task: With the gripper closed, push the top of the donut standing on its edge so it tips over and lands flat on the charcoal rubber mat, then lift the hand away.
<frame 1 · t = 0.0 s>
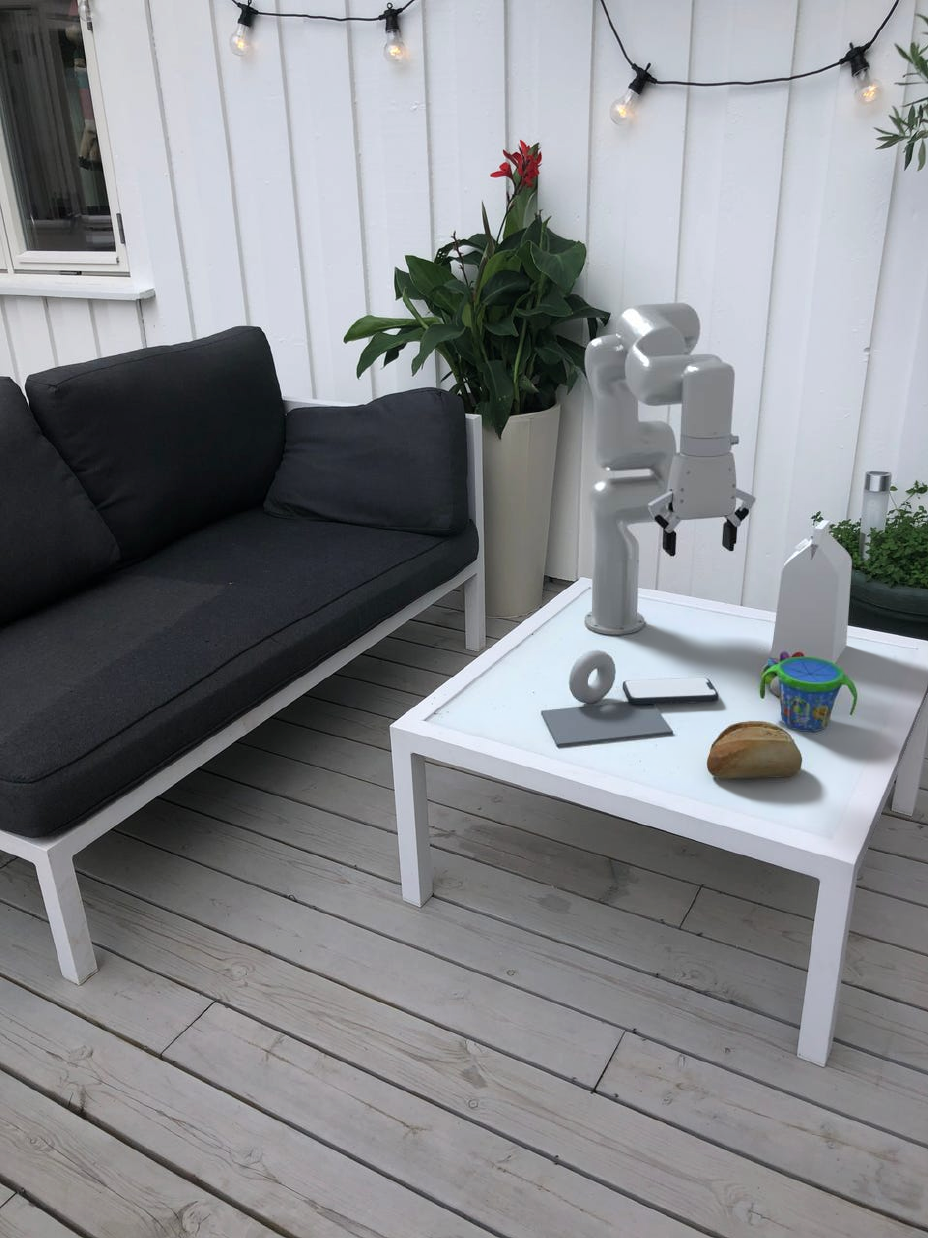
hand: (698, 551, 161), 31 cm above the table, fingers open, 9 cm apart
donut: (592, 703, 181), on the table, touching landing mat
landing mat: (605, 723, 174), on the table
snack cup: (804, 724, 172), on the table
smartphone: (669, 696, 182), on the table, touching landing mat
milk: (808, 652, 198), on the table
multicolored rounded-lobe toy: (787, 689, 184), on the table
bread roll: (752, 773, 158), on the table
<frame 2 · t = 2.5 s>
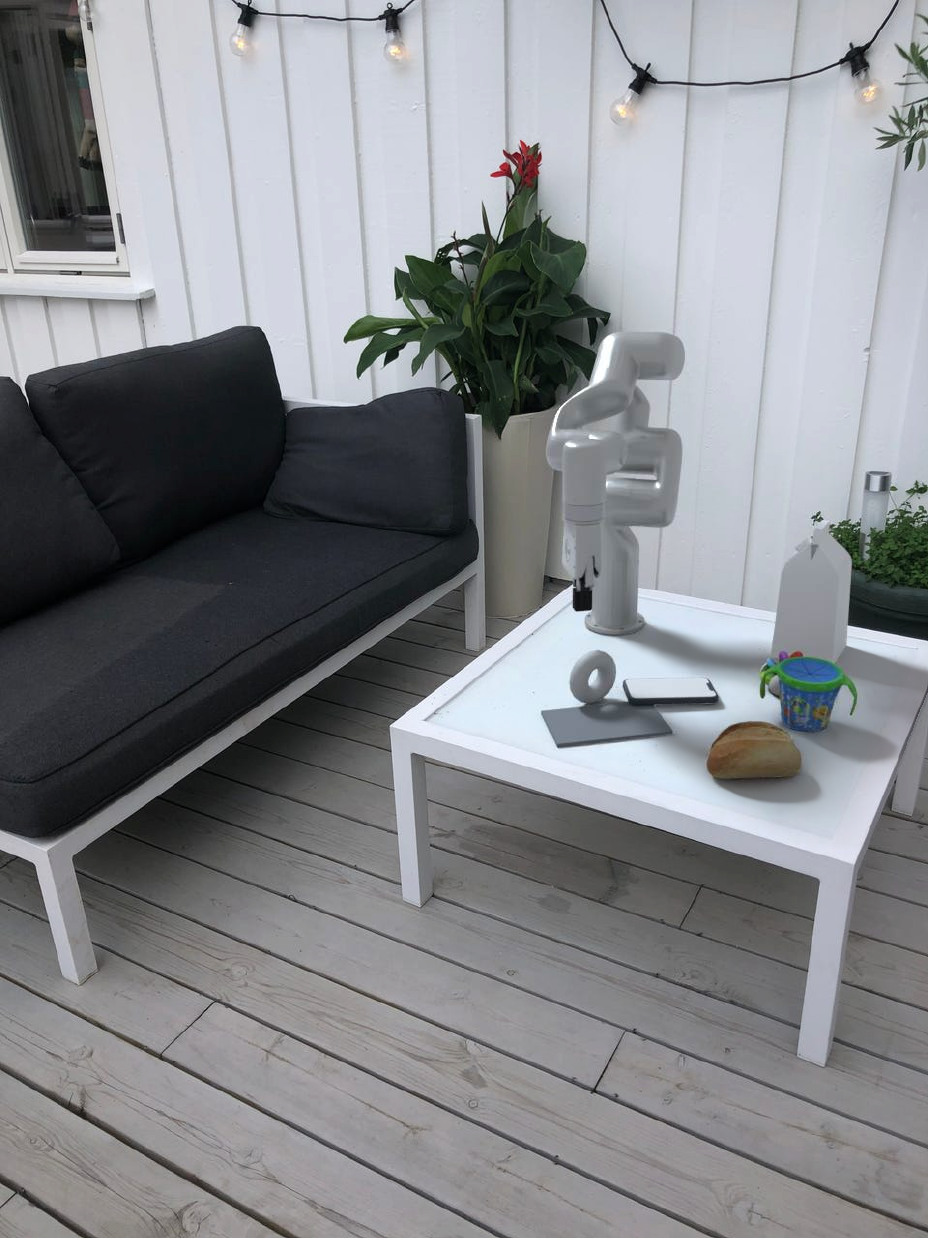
hand: (582, 609, 182), 15 cm above the table, fingers closed
nothing on the table moved.
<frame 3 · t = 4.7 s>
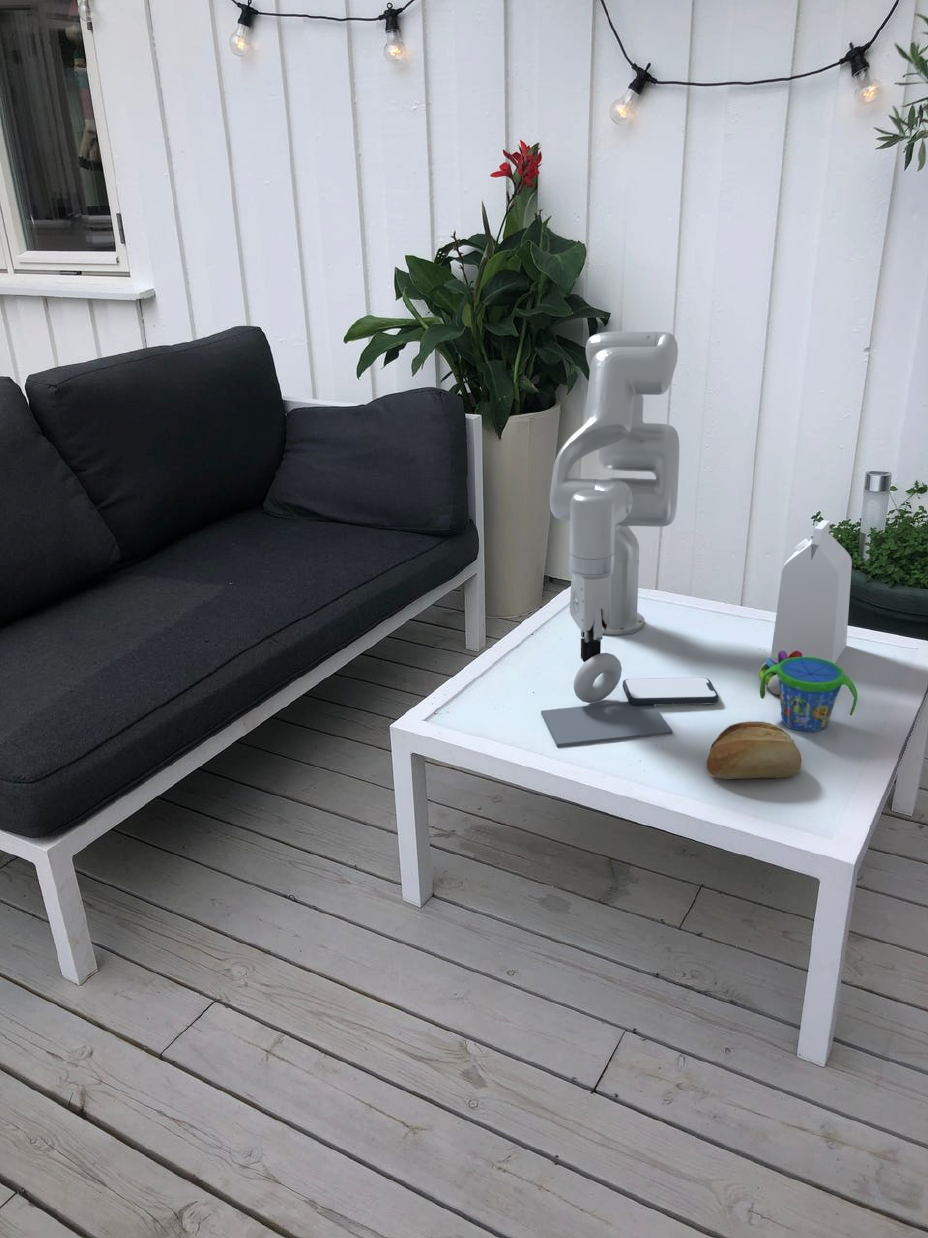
hand: (590, 659, 180), 8 cm above the table, fingers closed
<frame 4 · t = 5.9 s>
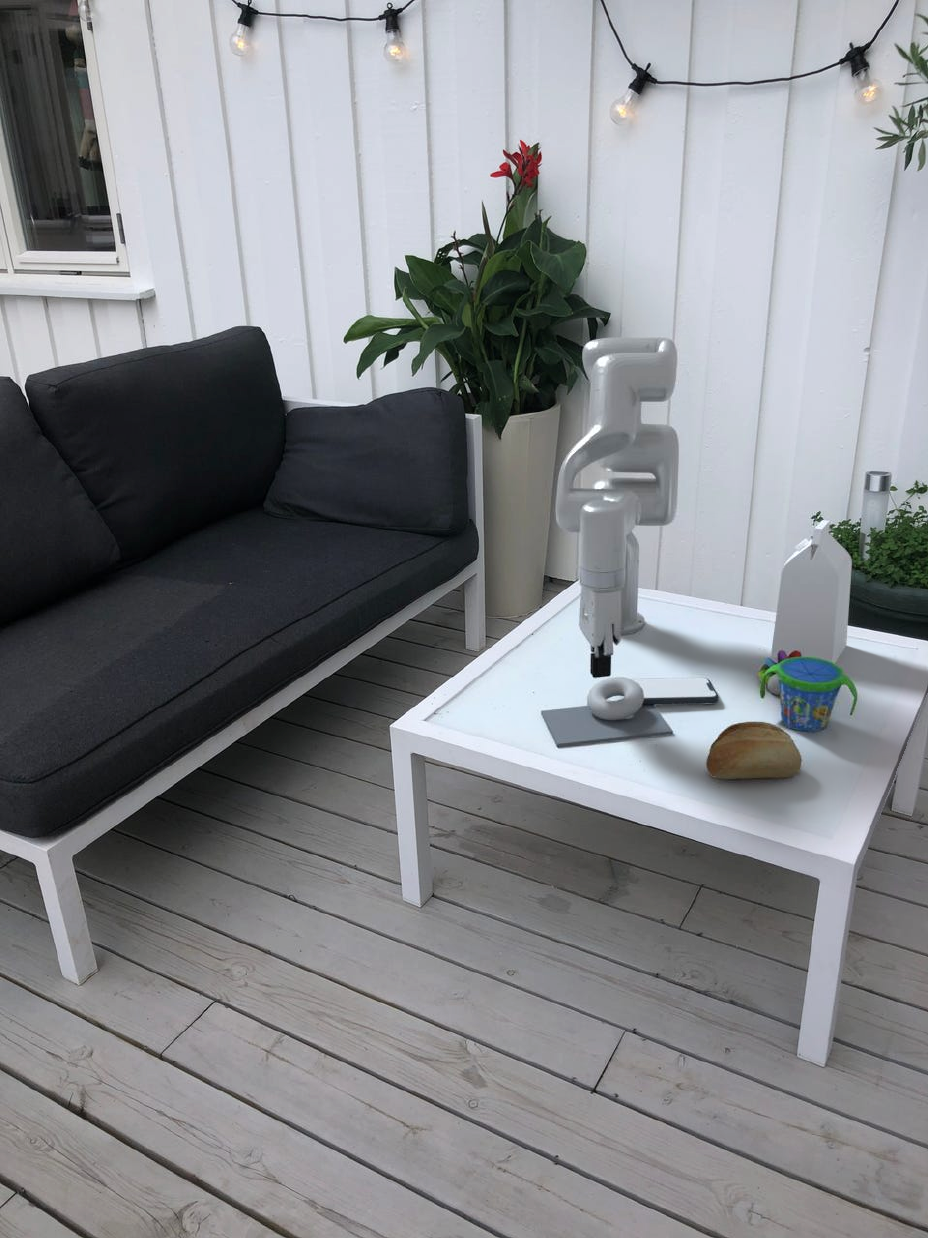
hand: (600, 675, 174), 8 cm above the table, fingers closed
donut: (593, 688, 179), point 3 cm above the table, touching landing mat, smartphone
smartphone: (669, 696, 182), on the table, touching donut, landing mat
everything else where it was.
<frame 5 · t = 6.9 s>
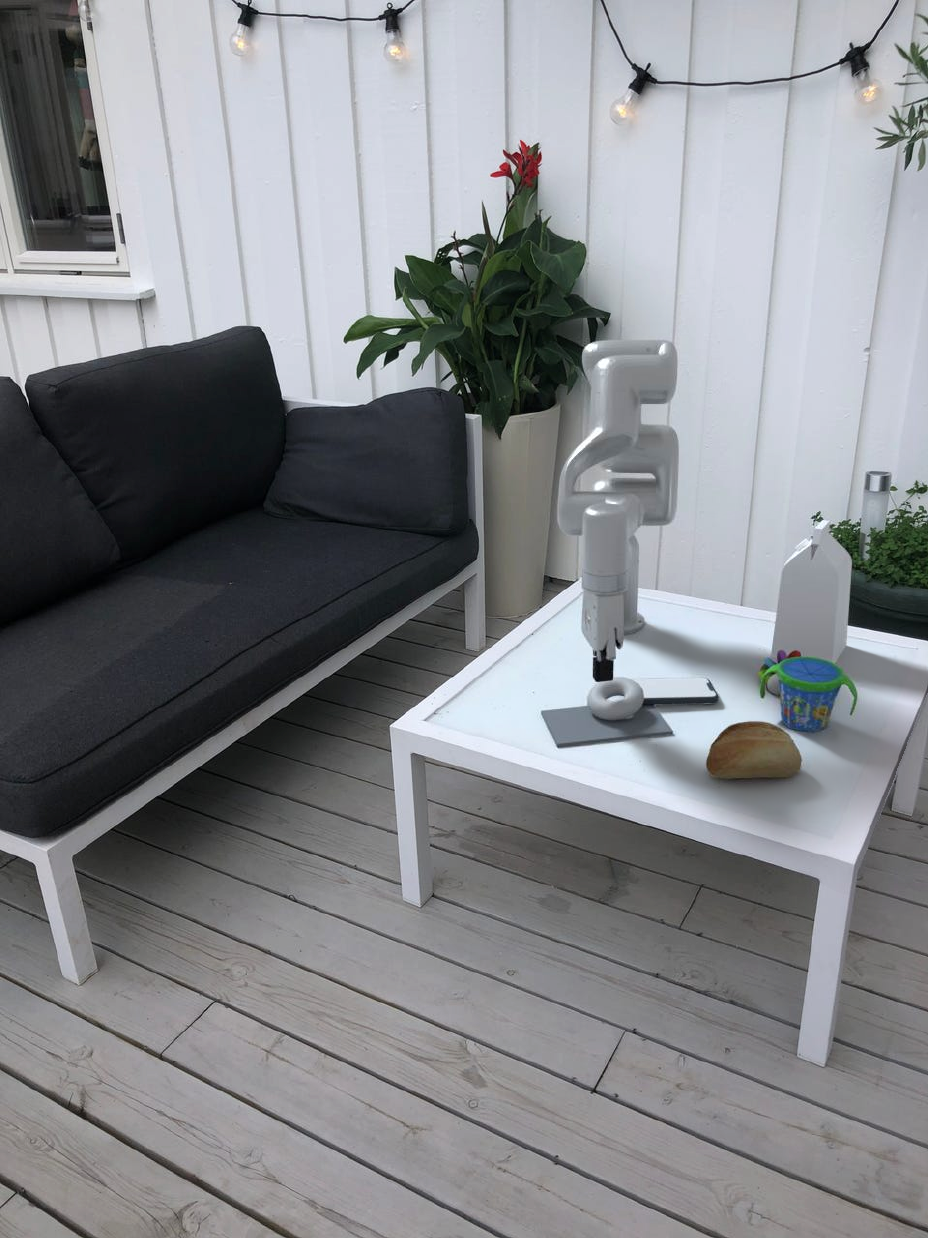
hand: (602, 679, 173), 8 cm above the table, fingers closed
nothing on the table moved.
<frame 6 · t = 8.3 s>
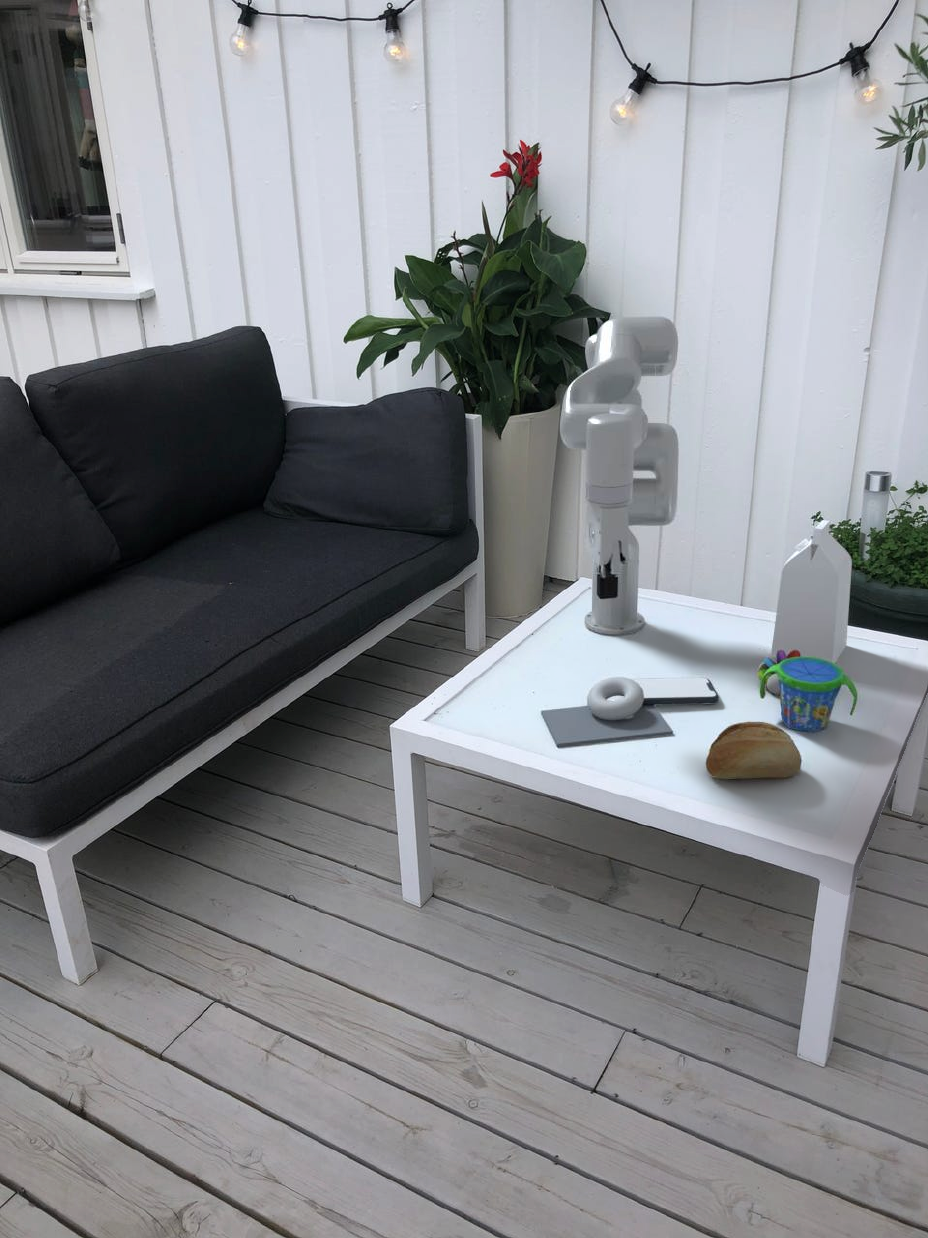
hand: (607, 596, 170), 22 cm above the table, fingers closed
nothing on the table moved.
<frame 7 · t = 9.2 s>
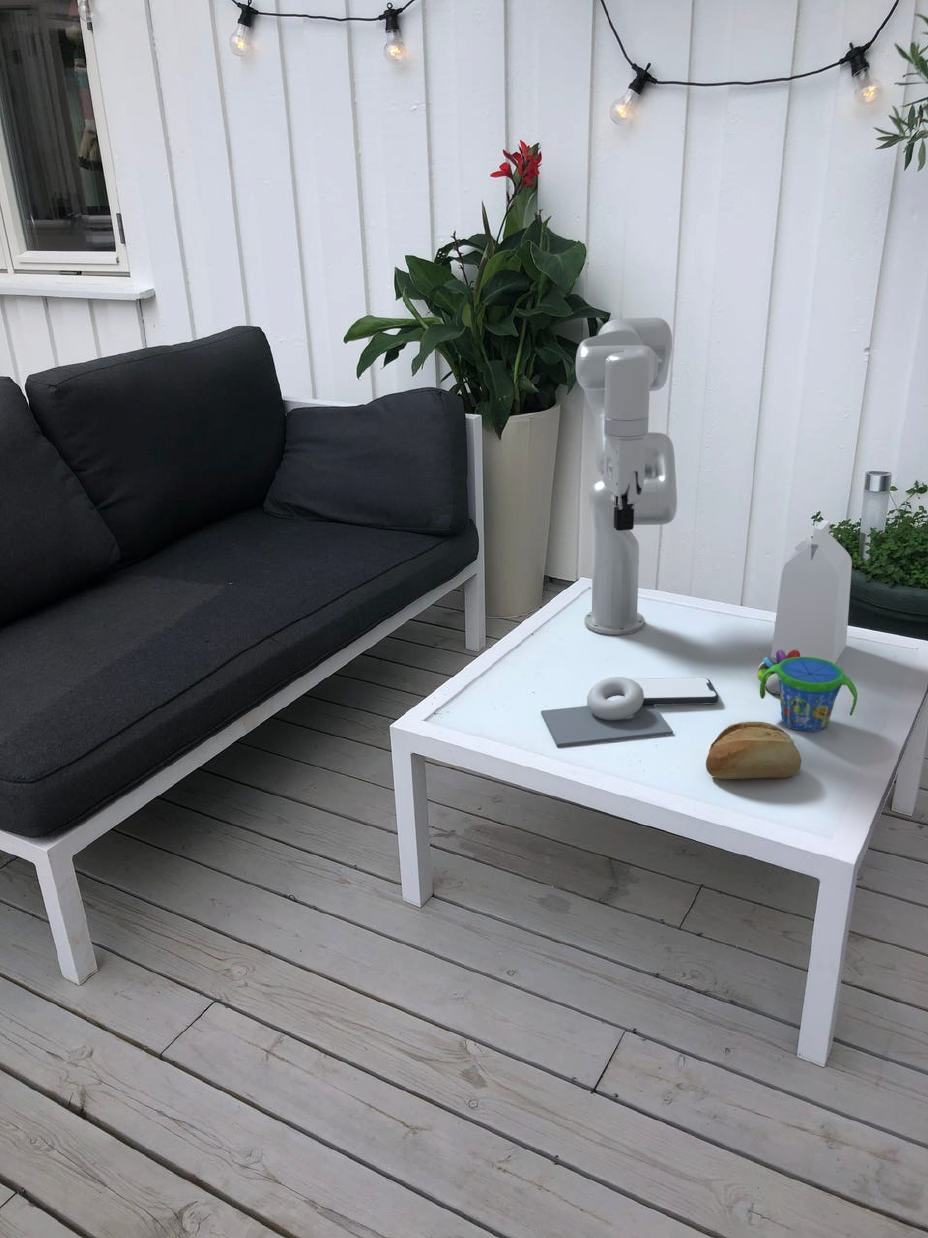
hand: (623, 528, 180), 29 cm above the table, fingers closed
nothing on the table moved.
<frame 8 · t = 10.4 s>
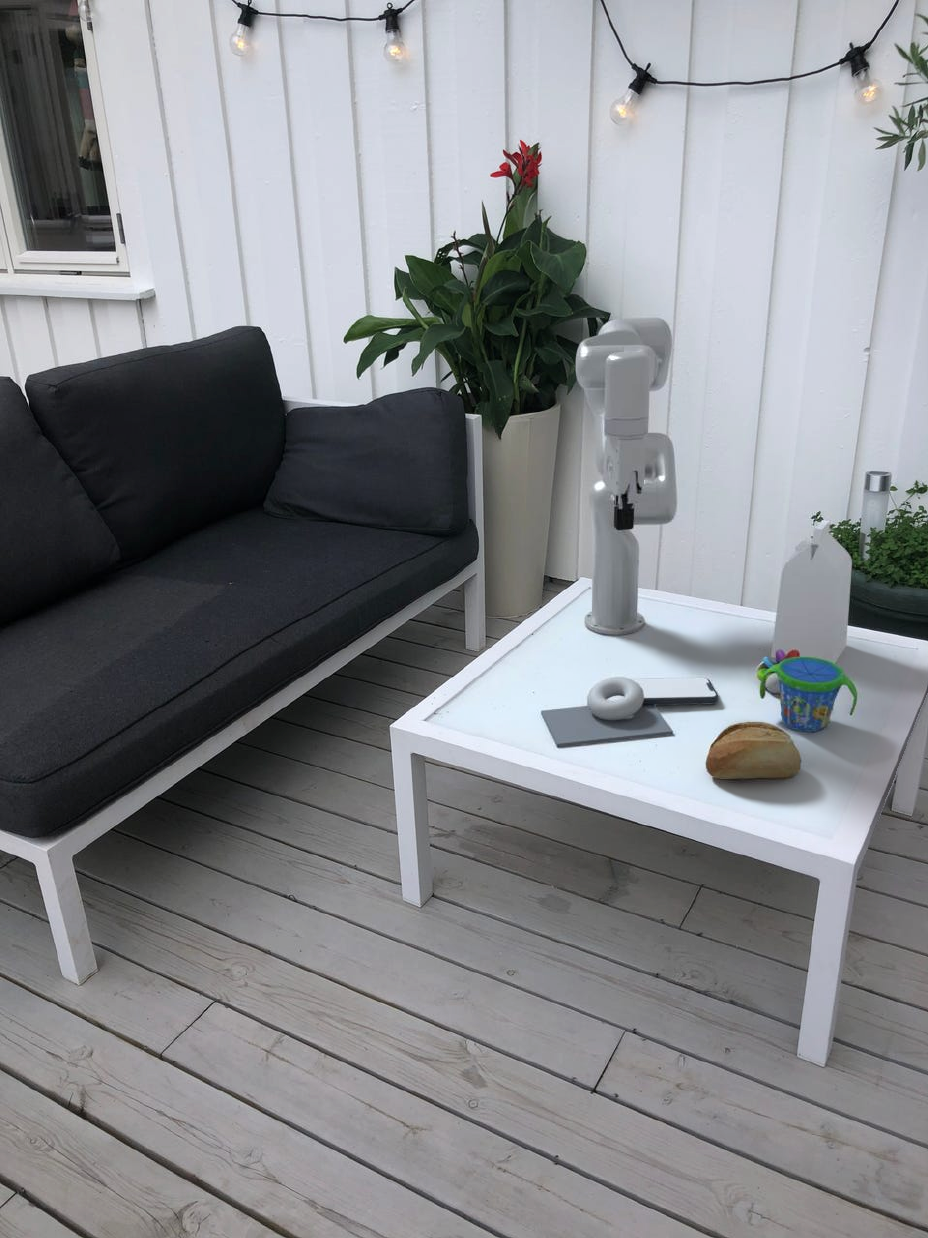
hand: (623, 528, 180), 29 cm above the table, fingers closed
at the end: donut tilted 90°; donut touching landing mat, smartphone; the gripper is holding nothing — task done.
